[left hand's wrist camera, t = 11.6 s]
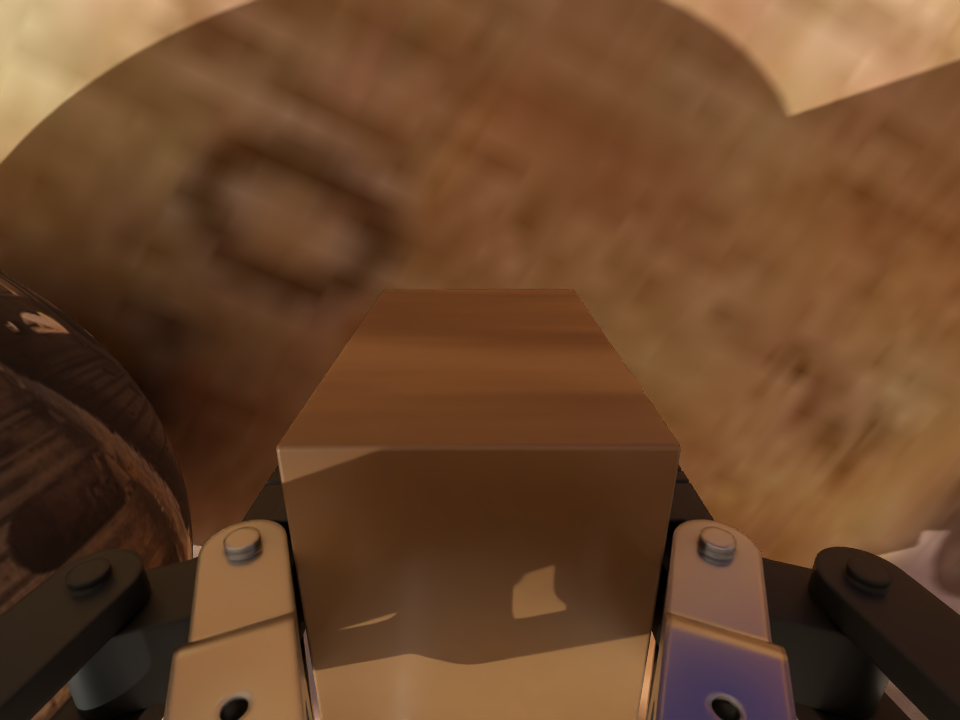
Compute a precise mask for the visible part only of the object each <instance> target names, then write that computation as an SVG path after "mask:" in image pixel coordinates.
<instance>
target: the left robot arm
mask: <svg viewBox="0 0 960 720" xmlns="http://www.w3.org/2000/svg"><path fill="white" fill-rule="evenodd" d="M305 628H306V626H305V620H304V614H303V608H302V602H301V596H300V590H299V584H298V578H297V572H296V566H295V560H294V554H293V548H292V542H291V536H290V530H289V524H288V518H287V512H286V506H285V500H284V494H283V488H282V482H281V476H280V470H279V464H278V466H277V468H276V471H275V472H273V474H272V475H271V477H270V478H269V480H268V484H266V485H265V486H264V488H263V489H262V491H261V493H260V494H259V496H258V497H257V499H256V500H255V502H254V503H253V505H252V507H251V508H250V510H249V511H248V513H247V514H246V516H245V517H244V519H243V521H242V522H239V523H236V524H233V525H231V526H228V527H226V528H224V529H222V530H221V531H219V532H217V533H216V534H214V535H213V536H212V537H211V538H209V539H208V540H207V541H206V542H205V544H204V545H203V546H202V548H201V550H200V552H199V555H198V557H196V558H193V559H190V560H186V561H183V562H178V563H174V564H169V565H165V566H160V567H156V568H151V569H147V570H145V566H144V563H143V560H142V558H141V556H140V555H139V554H138V553H137V552H135V551H133V550H129V549H122V548H118V549H108V550H102V551H98V552H95V553H92V554H88V555H86V556H83V557H81V558H79V559H77V560H75V561H72V562H70V563H69V564H67V565H65V566H64V567H62V568H61V569H59V570H58V571H56V572H55V573H54V574H52V575H51V576H50V577H48V578H47V579H46V580H45V581H43V582H42V583H41V584H40V585H38V586H37V587H36V588H34V589H33V590H32V591H31V592H29V593H28V594H27V595H25V596H24V597H23V598H22V599H20V600H19V601H18V602H17V603H15V604H14V605H13V606H11V607H10V608H9V609H8V610H6V611H5V612H4V613H3V614H1V615H0V720H31V719H32V718H33V717H34V716H35V715H36V714H37V713H38V712H39V711H40V710H41V709H42V708H43V707H44V706H45V705H46V704H47V703H48V702H49V701H50V700H51V699H52V698H53V697H54V696H55V695H56V694H57V693H58V692H59V691H60V690H61V689H62V688H63V687H64V686H65V685H66V684H67V686H68V688H69V690H70V693H71V695H72V696H71V697H70V698H69V699H68V700H67V702H66V703H65V704H64V705H63V706H62V707H61V708H60V709H59V710H58V711H57V712H56V713H55V714H54V715H53V716H52V717H51V718H50V719H49V720H162V718H163V717H164V719H163V720H315V719H314V711H313V702H312V694H311V686H310V678H309V670H308V662H307V653H306V647H305V641H304V635H303V634H304V631H305ZM652 632H653V635H654V638H655V647H654V653H653V661H652V669H651V678H650V686H649V694H648V702H647V710H646V718H645V720H797V719H796V717H797V718H798V720H911V719H910V718H909V717H908V716H907V715H906V714H905V713H904V712H903V711H902V710H901V709H900V708H899V707H898V706H897V705H896V704H895V703H894V702H893V700H892V699H891V698H890V697H889V696H888V695H887V694H886V693H885V692H884V690H885V688H886V686H887V683H888V681H889V680H890V681H891V682H892V683H893V684H894V685H895V686H896V687H897V688H898V689H899V690H900V691H901V692H902V693H903V694H904V695H905V696H906V697H907V698H908V699H909V700H910V701H911V702H912V703H913V704H914V705H915V706H916V707H917V708H918V709H919V710H920V711H921V712H922V713H923V714H924V715H925V716H926V717H927V718H928V719H929V720H960V615H959V614H957V613H956V612H955V611H954V610H952V609H951V608H950V607H949V606H947V605H946V604H945V603H943V602H942V601H941V600H940V599H938V598H937V597H936V596H934V595H933V594H932V593H931V592H929V591H928V590H927V589H926V588H924V587H923V586H922V585H920V584H919V583H918V582H917V581H915V580H914V579H913V578H911V577H910V576H909V575H908V574H906V573H905V572H904V571H902V570H901V569H900V568H898V567H897V566H895V565H894V564H892V563H890V562H889V561H887V560H885V559H883V558H881V557H879V556H876V555H874V554H871V553H868V552H865V551H862V550H858V549H854V548H848V547H831V548H827V549H824V550H822V551H820V552H819V553H818V554H817V556H816V559H815V562H814V565H813V569H809V568H805V567H800V566H796V565H791V564H787V563H782V562H778V561H773V560H769V559H766V558H763V557H762V555H761V552H760V550H759V548H758V546H757V545H756V544H755V542H754V541H753V540H752V539H750V538H749V537H748V536H747V535H746V534H744V533H743V532H741V531H739V530H738V529H736V528H734V527H732V526H729V525H727V524H724V523H721V522H717V521H714V520H713V518H712V516H711V515H710V513H709V512H708V510H707V508H706V507H705V505H704V504H703V502H702V501H701V499H700V497H699V496H698V494H697V493H696V491H695V489H694V488H693V486H692V485H691V483H689V480H688V478H687V477H686V475H685V474H684V472H683V471H681V467H680V466H679V464H678V469H677V475H676V481H675V488H674V494H673V500H672V506H671V512H670V519H669V525H668V531H667V537H666V543H665V550H664V556H663V562H662V568H661V575H660V581H659V587H658V593H657V599H656V606H655V612H654V618H653V624H652Z"/></svg>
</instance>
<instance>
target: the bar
mask: <svg viewBox="0 0 960 720" xmlns="http://www.w3.org/2000/svg"><path fill="white" fill-rule="evenodd" d="M680 450H681V447H680V444H679V443H678V441H677V440H676V438H675V437H674V436H673V434H672V433H671V431H670V430H669V428H668V427H667V425H666V424H665V422H664V421H663V419H662V418H661V417H660V415H659V414H658V412H657V411H656V409H655V408H654V406H653V405H652V403H651V402H650V400H649V399H648V398H647V396H646V395H645V393H644V392H643V390H642V389H641V387H640V386H639V384H638V383H637V381H636V380H635V378H634V377H633V376H632V374H631V373H630V371H629V370H628V368H627V367H626V365H625V364H624V362H623V361H622V359H621V358H620V357H619V355H618V354H617V352H616V351H615V349H614V348H613V346H612V345H611V343H610V342H609V340H608V339H607V337H606V336H605V335H604V333H603V332H602V330H601V329H600V327H599V326H598V324H597V323H596V321H595V320H594V318H593V317H592V316H591V314H590V313H589V311H588V310H587V308H586V307H585V305H584V304H583V302H582V301H581V299H580V298H579V297H578V295H577V294H576V292H575V291H574V290H573V289H444V290H383V292H382V293H381V295H380V296H379V298H378V299H377V301H376V302H375V303H374V305H373V306H372V308H371V309H370V311H369V312H368V314H367V315H366V317H365V318H364V319H363V321H362V322H361V324H360V325H359V327H358V328H357V330H356V331H355V333H354V334H353V335H352V337H351V338H350V340H349V341H348V343H347V344H346V346H345V347H344V349H343V350H342V352H341V353H340V354H339V356H338V357H337V359H336V360H335V362H334V363H333V365H332V366H331V368H330V369H329V370H328V372H327V373H326V375H325V376H324V378H323V379H322V381H321V382H320V384H319V385H318V386H317V388H316V389H315V391H314V392H313V394H312V395H311V397H310V398H309V400H308V401H307V403H306V404H305V405H304V407H303V408H302V410H301V411H300V413H299V414H298V416H297V417H296V419H295V420H294V421H293V423H292V424H291V426H290V427H289V429H288V430H287V432H286V433H285V435H284V436H283V438H282V439H281V440H280V442H279V443H278V445H277V448H276V452H277V458H278V464H279V470H280V476H281V482H282V488H283V494H284V500H285V506H286V512H287V518H288V524H289V530H290V536H291V542H292V548H293V554H294V560H295V566H296V572H297V578H298V584H299V590H300V596H301V602H302V608H303V614H304V620H305V626H306V632H307V638H308V645H309V651H310V657H311V663H312V669H313V675H314V681H315V687H316V693H317V699H318V705H319V711H320V717H321V720H637V717H638V711H639V705H640V699H641V692H642V686H643V680H644V674H645V668H646V661H647V655H648V649H649V643H650V637H651V630H652V624H653V618H654V612H655V606H656V599H657V593H658V587H659V581H660V575H661V568H662V562H663V556H664V550H665V543H666V537H667V531H668V525H669V519H670V512H671V506H672V500H673V494H674V488H675V481H676V475H677V469H678V463H679V457H680Z"/></svg>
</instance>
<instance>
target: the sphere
mask: <svg viewBox="0 0 960 720" xmlns="http://www.w3.org/2000/svg"><path fill="white" fill-rule="evenodd" d="M118 548H122V549H129V550H133V551H135V552H137V553H138V554H139V555H140V556H141V558H142V560H143V563H144V566H145V570H147V569H151V568H156V567H160V566H165V565H169V564H174V563H178V562H183V561H186V560H190V559H193V541H192V526H191V517H190V510H189V503H188V498H187V493H186V489H185V484H184V480H183V477H182V473H181V470H180V467H179V464H178V461H177V458H176V455H175V453H174V450H173V447H172V445H171V443H170V440H169V438H168V436H167V434H166V432H165V430H164V428H163V426H162V424H161V422H160V420H159V418H158V416H157V415H156V413H155V411H154V409H153V408H152V406H151V405H150V403H149V401H148V400H147V398H146V397H145V395H144V394H143V392H142V391H141V390H140V388H139V387H138V385H137V384H136V383H135V381H134V380H133V379H132V378H131V376H130V375H129V374H128V373H127V371H126V370H125V369H124V368H123V367H122V366H121V364H120V363H119V362H118V361H117V360H116V359H115V358H114V357H113V356H112V355H111V353H110V352H109V351H108V350H107V349H106V348H105V347H104V346H103V345H102V344H101V343H100V342H98V341H97V340H96V339H95V338H94V337H93V336H92V335H91V334H90V333H89V332H88V331H86V330H85V329H84V328H83V327H82V326H81V325H79V324H78V323H77V322H76V321H75V320H73V319H72V318H71V317H69V316H68V315H67V314H66V313H64V312H63V311H62V310H60V309H59V308H58V307H56V306H55V305H54V304H52V303H51V302H49V301H48V300H46V299H45V298H43V297H42V296H41V295H39V294H38V293H36V292H34V291H33V290H31V289H30V288H28V287H27V286H25V285H23V284H22V283H20V282H18V281H17V280H15V279H13V278H12V277H10V276H8V275H6V274H5V273H3V272H1V271H0V615H1V614H3V613H4V612H5V611H6V610H8V609H9V608H10V607H11V606H13V605H14V604H15V603H17V602H18V601H19V600H20V599H22V598H23V597H24V596H25V595H27V594H28V593H29V592H31V591H32V590H33V589H34V588H36V587H37V586H38V585H40V584H41V583H42V582H43V581H45V580H46V579H47V578H48V577H50V576H51V575H52V574H54V573H55V572H56V571H58V570H59V569H61V568H62V567H64V566H65V565H67V564H69V563H70V562H72V561H75V560H77V559H79V558H81V557H83V556H86V555H88V554H92V553H95V552H98V551H102V550H108V549H118ZM71 696H72V695H71V693H70V690H69V688H68V686H67V684H66V685H65V686H64V687H63V688H62V689H61V690H60V691H59V692H58V693H57V694H56V695H55V696H54V697H53V698H52V699H51V700H50V701H49V702H48V703H47V704H46V705H45V706H44V707H43V708H42V709H41V710H40V711H39V712H38V713H37V714H36V715H35V716H34V717H33V718H32V719H31V720H49V719H50V718H51V717H52V716H53V715H54V714H55V713H56V712H57V711H58V710H59V709H60V708H61V707H62V706H63V705H64V704H65V703H66V702H67V700H68V699H69V698H70V697H71Z"/></svg>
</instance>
